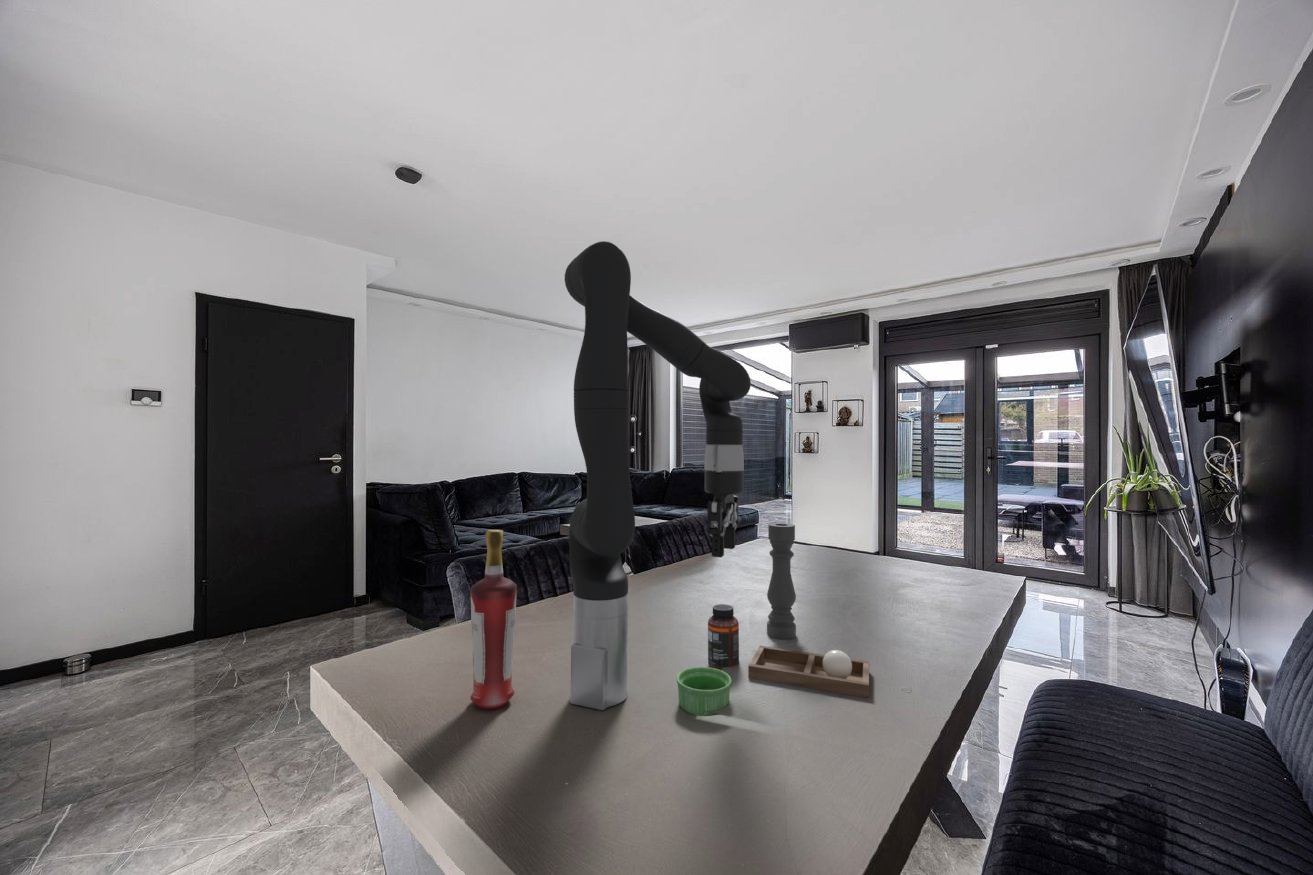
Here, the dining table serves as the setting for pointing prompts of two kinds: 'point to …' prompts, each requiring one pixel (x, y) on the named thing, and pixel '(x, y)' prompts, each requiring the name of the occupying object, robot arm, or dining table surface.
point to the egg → (837, 664)
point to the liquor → (493, 629)
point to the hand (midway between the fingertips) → (723, 552)
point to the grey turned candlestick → (781, 582)
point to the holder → (807, 671)
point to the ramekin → (703, 690)
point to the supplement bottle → (723, 638)
